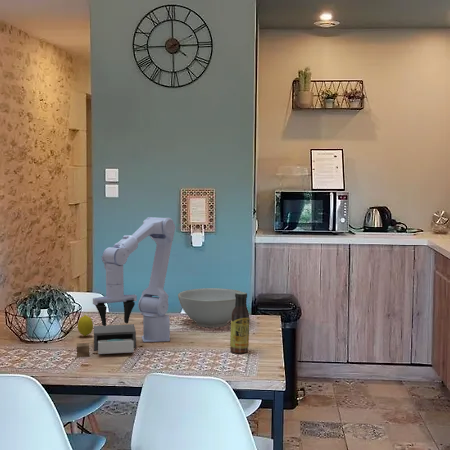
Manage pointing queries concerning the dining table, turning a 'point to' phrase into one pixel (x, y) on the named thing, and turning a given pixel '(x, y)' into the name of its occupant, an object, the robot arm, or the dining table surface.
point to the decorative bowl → (208, 306)
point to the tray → (115, 346)
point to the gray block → (114, 333)
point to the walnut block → (83, 350)
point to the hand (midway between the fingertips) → (115, 324)
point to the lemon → (85, 325)
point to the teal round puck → (115, 340)
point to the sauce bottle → (240, 325)
